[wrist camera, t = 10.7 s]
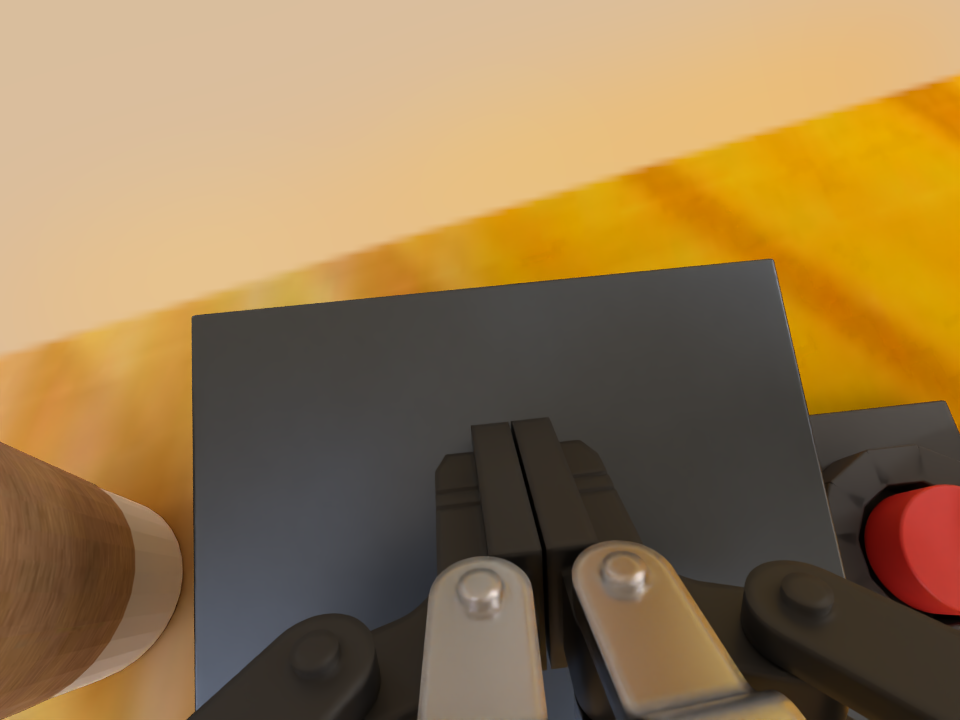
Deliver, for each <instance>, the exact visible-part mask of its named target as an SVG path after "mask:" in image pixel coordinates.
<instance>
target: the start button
mask: <svg viewBox="0 0 960 720" xmlns="http://www.w3.org/2000/svg"><path fill="white" fill-rule="evenodd" d="M864 542H865V549H866V553H867V557H868V560H869V562H870V565H871V567H872V569H873V571H874V572H875V574H876V576H877V577H878V579H879V580H880V581H881V583H882V584H883V585H884V586H885V587H886V588H887V589H888V590H889V591H890V592H891V593H892V594H893V595H894V596H895V597H897V598H898V599H899V600H901V601H902V602H904V603H905V604H907V605H909V606H911V607H913V608H915V609H917V610H920V611H923V612H927V613H932V614H944V615H960V486H956V485H947V484H944V485H934V486H929V487H925V488H920V489H916V490H911V491H907V492H903V493H898V494H894V495H892V496H889V497H887V498H885V499H883V500H882V501H881V502H880V503H878V504H877V505H876V507H875V508H874V509H873V510H872V512H871V513H870V515H869V517H868V520H867V523H866V526H865V534H864Z"/></svg>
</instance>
